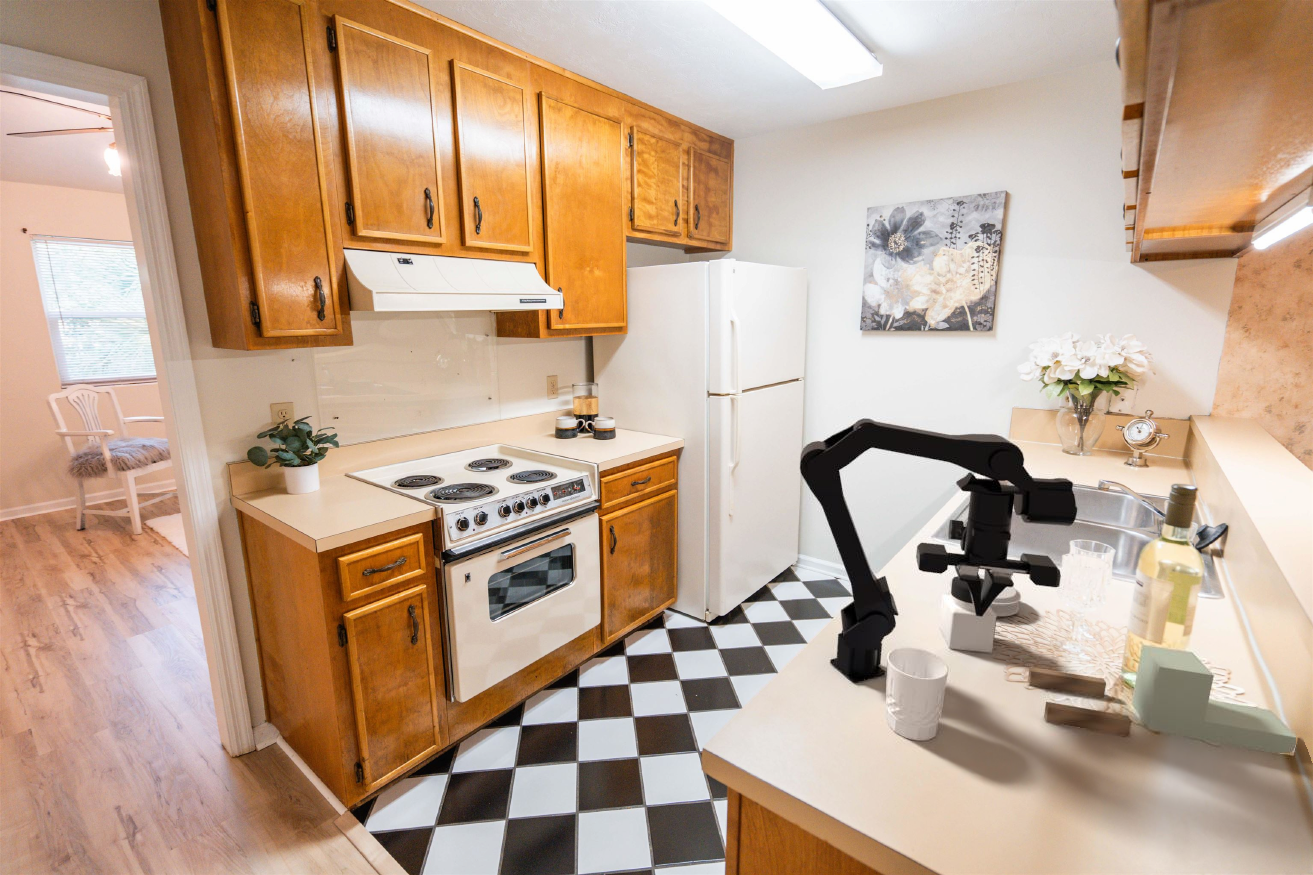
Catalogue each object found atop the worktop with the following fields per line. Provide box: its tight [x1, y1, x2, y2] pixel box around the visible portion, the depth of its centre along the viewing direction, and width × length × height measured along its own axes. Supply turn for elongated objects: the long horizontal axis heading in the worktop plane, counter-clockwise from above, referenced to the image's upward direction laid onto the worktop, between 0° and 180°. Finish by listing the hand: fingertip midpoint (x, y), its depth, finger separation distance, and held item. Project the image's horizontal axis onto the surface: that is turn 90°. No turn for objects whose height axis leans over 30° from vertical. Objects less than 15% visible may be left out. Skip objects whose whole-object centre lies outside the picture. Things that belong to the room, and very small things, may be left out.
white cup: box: [885, 647, 949, 742], centre depth 85 cm, size 8×8×10 cm
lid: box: [948, 574, 1022, 617], centre depth 121 cm, size 13×13×5 cm
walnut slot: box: [1027, 666, 1133, 738], centre depth 89 cm, size 10×10×2 cm
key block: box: [1131, 644, 1297, 754], centre depth 84 cm, size 16×6×10 cm, turn 70°
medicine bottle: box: [938, 574, 998, 654], centre depth 107 cm, size 7×7×12 cm
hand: (978, 615), depth 93 cm, fingers closed
